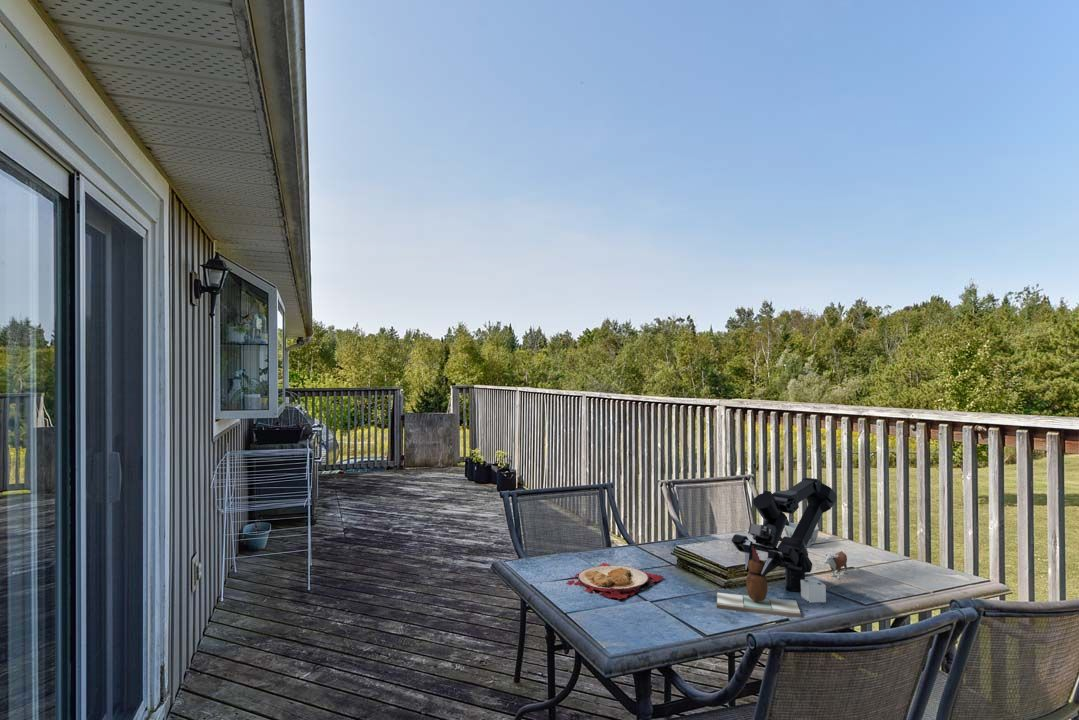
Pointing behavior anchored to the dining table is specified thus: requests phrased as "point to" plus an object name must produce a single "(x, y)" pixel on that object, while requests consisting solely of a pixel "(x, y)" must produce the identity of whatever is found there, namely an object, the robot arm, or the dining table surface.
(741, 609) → the board
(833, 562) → the bull figurine
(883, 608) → the dining table surface
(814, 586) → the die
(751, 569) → the wooden figurine
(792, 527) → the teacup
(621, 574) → the plate with food
